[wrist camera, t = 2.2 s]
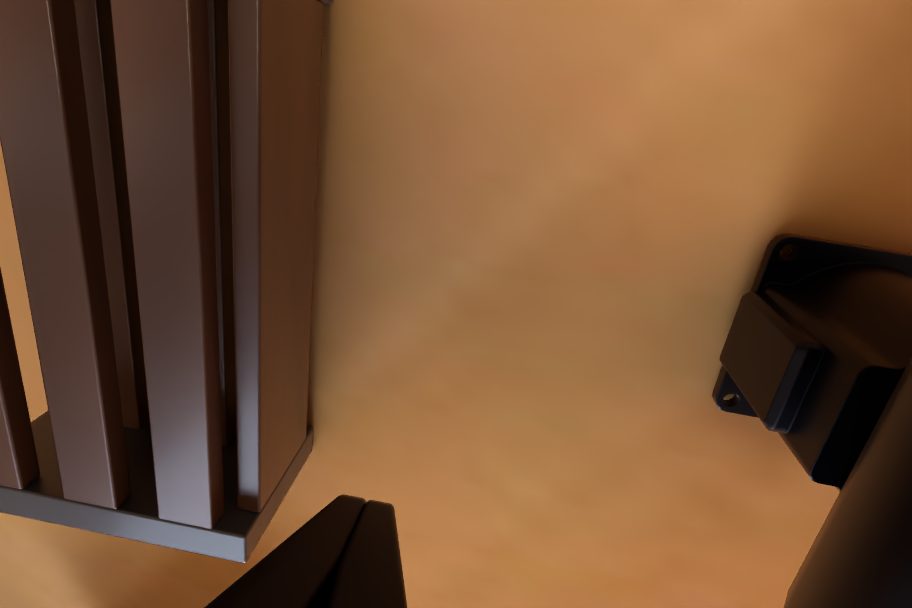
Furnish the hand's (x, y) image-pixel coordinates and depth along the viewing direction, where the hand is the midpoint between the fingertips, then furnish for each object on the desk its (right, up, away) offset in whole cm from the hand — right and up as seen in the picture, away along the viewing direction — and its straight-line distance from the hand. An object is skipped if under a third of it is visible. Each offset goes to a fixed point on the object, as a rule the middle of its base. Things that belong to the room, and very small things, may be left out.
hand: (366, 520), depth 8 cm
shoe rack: (-8, +6, +12) cm, 16 cm away
